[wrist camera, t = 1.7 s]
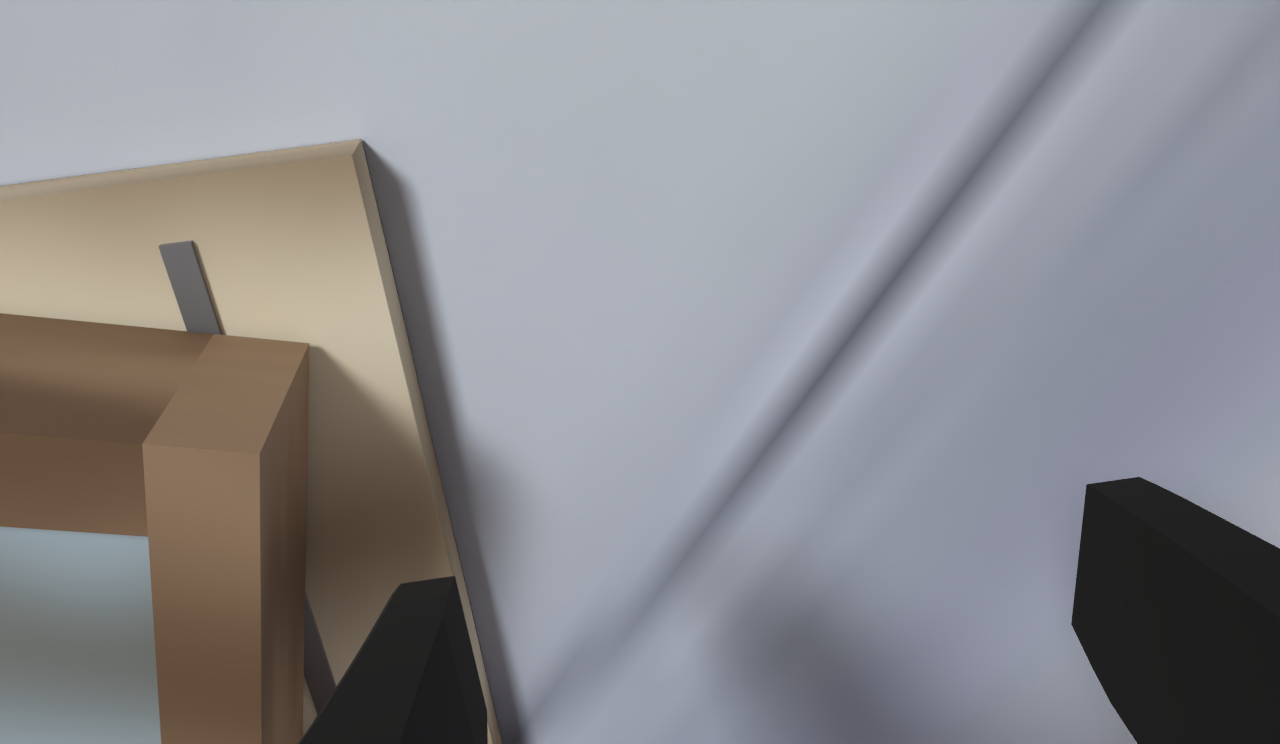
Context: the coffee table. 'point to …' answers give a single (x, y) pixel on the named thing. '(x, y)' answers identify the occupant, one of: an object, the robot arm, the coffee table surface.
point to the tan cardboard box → (151, 535)
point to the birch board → (278, 310)
